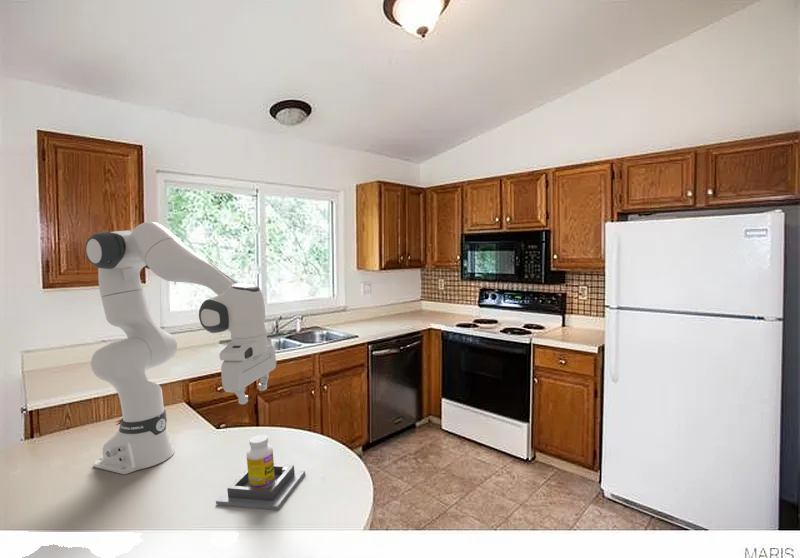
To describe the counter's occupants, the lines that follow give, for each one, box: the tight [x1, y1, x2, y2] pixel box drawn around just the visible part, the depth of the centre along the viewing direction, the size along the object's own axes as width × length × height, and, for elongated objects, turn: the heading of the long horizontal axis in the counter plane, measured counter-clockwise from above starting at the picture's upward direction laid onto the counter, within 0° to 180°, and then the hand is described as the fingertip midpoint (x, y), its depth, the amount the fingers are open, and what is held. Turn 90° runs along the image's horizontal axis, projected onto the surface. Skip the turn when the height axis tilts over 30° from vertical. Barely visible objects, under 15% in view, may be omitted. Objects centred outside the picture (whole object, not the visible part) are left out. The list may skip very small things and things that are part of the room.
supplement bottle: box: [246, 434, 275, 488], centre depth 111 cm, size 7×7×13 cm
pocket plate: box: [215, 463, 306, 511], centre depth 112 cm, size 17×16×4 cm
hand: (253, 396), depth 111 cm, fingers open, 8 cm apart
